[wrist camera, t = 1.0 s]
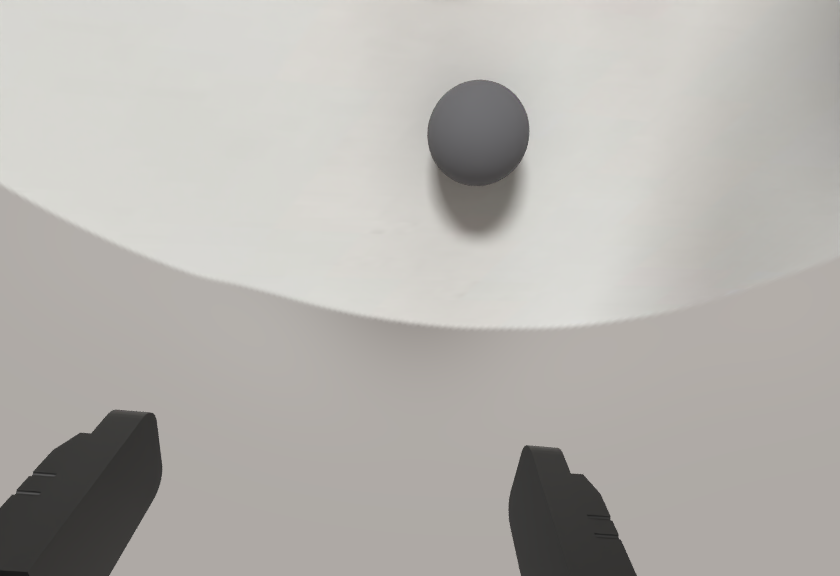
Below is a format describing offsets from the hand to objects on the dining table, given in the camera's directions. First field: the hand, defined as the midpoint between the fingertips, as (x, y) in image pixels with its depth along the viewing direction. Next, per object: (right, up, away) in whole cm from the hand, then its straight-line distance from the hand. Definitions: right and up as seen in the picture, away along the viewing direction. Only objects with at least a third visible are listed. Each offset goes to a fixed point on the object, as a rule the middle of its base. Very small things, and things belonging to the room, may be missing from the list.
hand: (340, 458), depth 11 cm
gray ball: (+5, +12, +16) cm, 21 cm away
